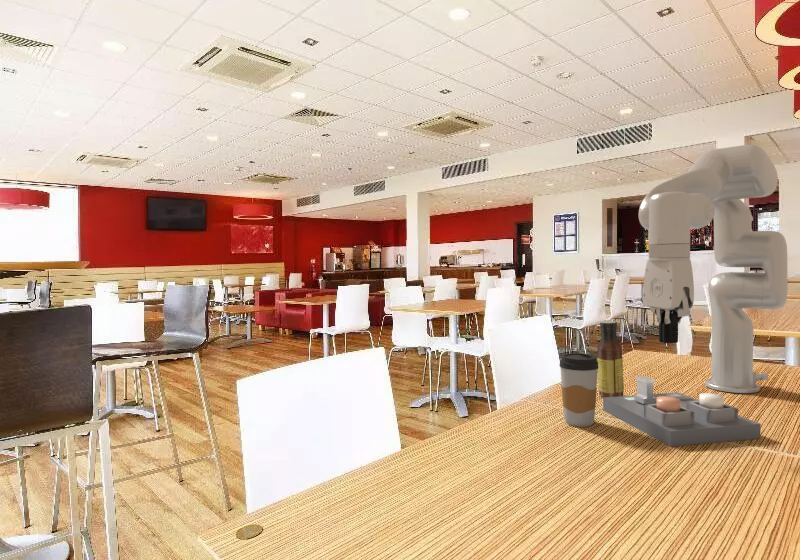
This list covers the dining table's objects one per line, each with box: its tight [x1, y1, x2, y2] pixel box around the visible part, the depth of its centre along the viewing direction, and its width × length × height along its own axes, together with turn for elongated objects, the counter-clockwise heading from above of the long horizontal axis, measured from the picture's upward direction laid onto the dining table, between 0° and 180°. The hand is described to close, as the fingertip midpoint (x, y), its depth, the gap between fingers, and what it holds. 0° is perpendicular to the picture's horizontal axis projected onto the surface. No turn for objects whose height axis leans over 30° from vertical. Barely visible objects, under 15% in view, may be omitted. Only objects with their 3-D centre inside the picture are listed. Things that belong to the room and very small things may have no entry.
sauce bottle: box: [596, 320, 625, 398], centre depth 134 cm, size 7×6×20 cm
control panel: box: [602, 391, 762, 447], centre depth 113 cm, size 20×24×6 cm
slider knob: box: [633, 374, 656, 404], centre depth 118 cm, size 3×4×6 cm
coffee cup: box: [558, 352, 599, 428], centre depth 115 cm, size 8×8×15 cm
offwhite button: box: [698, 392, 725, 409], centre depth 108 cm, size 4×4×2 cm
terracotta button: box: [657, 396, 681, 413], centre depth 106 cm, size 4×4×2 cm
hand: (668, 342), depth 105 cm, fingers closed
